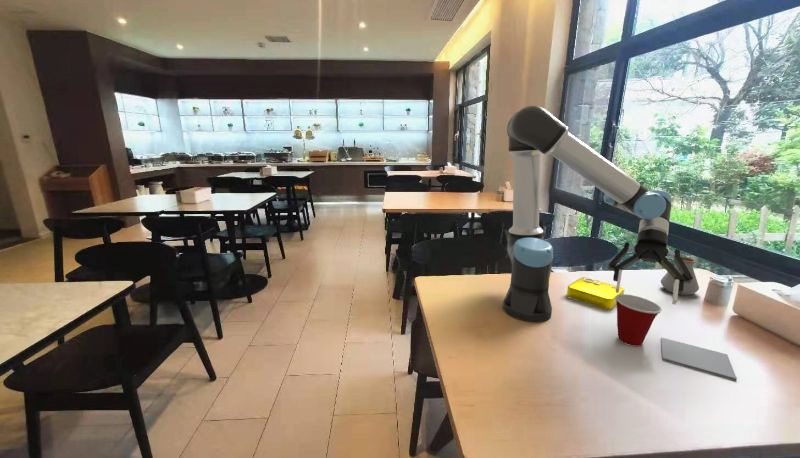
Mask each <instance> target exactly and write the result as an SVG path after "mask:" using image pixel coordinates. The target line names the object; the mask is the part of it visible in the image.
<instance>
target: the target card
mask: <svg viewBox="0 0 800 458" xmlns="http://www.w3.org/2000/svg"><path fill="white" fill-rule="evenodd" d="M660 346H661V360H662V361H665V362H668V363H672V364H676V365H679V366H683V367H686V368H688V369H694V370H697V371H700V372H704V373H707V374H711V375H714V376H717V377H718V376H719V377H722V378H725V379H728V380H732V381H737V376H736V373H735V371H734V368H733V366H732V363H731V361H730V358H729V355H728V354H727V353H723V352H720V351H716V350H712V349H708V348H703V347H700V346H696V345H693V344H688V343H685V342H680V341H677V340H673V339H669V338H666V337H660Z"/></svg>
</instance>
